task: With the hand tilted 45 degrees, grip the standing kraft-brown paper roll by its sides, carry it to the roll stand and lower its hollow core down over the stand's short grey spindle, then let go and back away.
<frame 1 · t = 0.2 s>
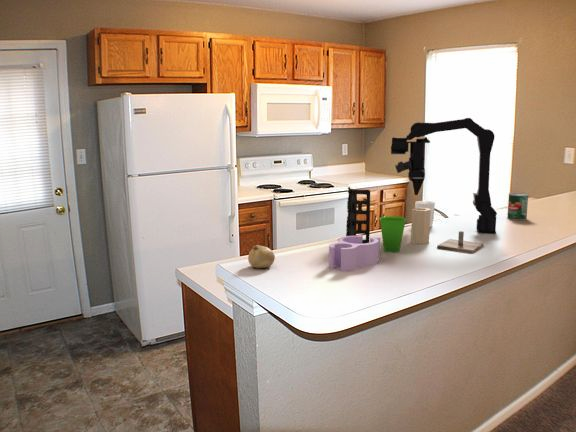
hand: (416, 193, 206), 14 cm above the table, tool pointing down, fingers open, 9 cm apart
canned tomato: (516, 219, 227), on the table
clip: (353, 263, 159), on the table
white cup: (423, 226, 213), on the table
paper roll: (419, 241, 185), on the table
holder: (356, 244, 183), on the table
roll stand: (460, 247, 177), on the table
cup: (391, 251, 173), on the table
onion: (261, 267, 155), on the table
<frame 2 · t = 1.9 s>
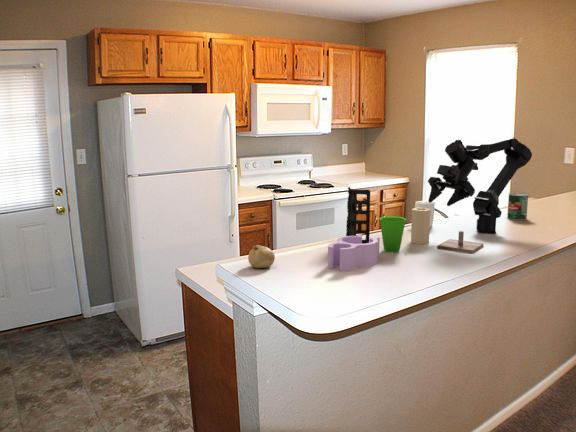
hand: (438, 203, 187), 13 cm above the table, tool tilted 45°, fingers open, 9 cm apart
nothing on the table moved.
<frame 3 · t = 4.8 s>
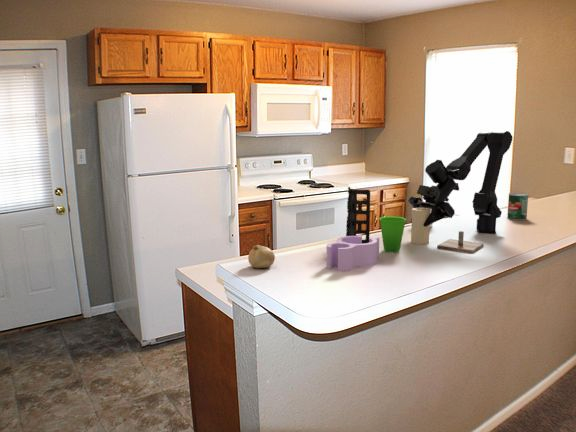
hand: (417, 224, 183), 7 cm above the table, tool tilted 45°, fingers closed on paper roll, 6 cm apart
paper roll: (419, 241, 185), on the table, touching gripper
everything else where it was.
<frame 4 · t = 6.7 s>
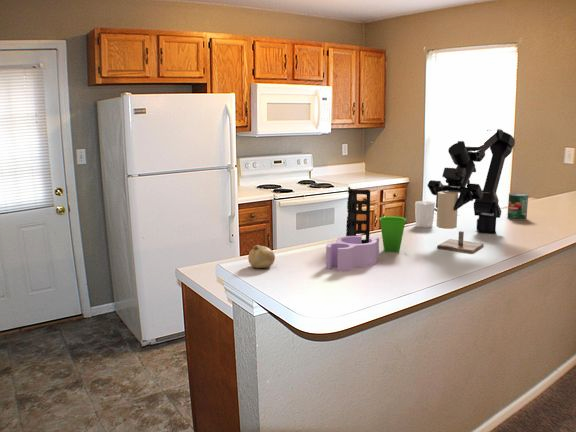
hand: (445, 208, 176), 13 cm above the table, tool tilted 45°, fingers closed on paper roll, 6 cm apart
paper roll: (446, 226, 178), point 7 cm above the table, touching gripper
everything else where it was.
when the fingers open (8 cm above the table, at t = 8.8 s): paper roll stays where it is, resting on roll stand.
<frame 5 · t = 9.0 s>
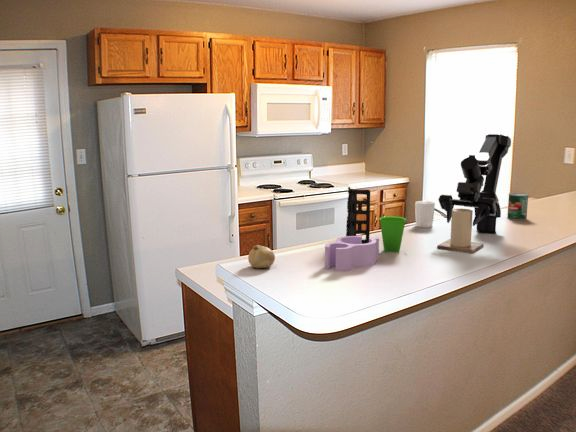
hand: (460, 223, 174), 9 cm above the table, tool tilted 45°, fingers open, 8 cm apart
paper roll: (460, 244, 177), point 1 cm above the table, touching roll stand
everything else where it was.
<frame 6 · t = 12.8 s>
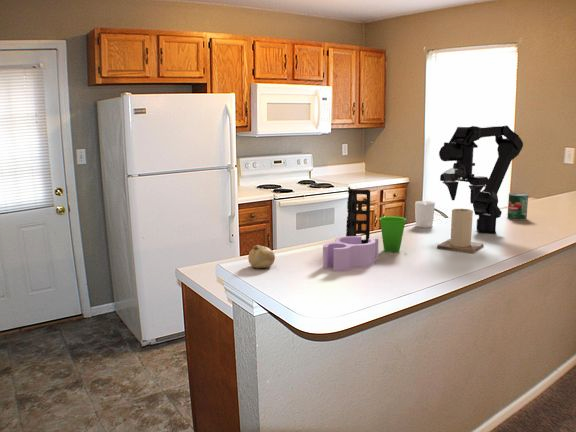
hand: (462, 201, 192), 13 cm above the table, tool pointing down, fingers open, 9 cm apart
at the end: paper roll 0.1 cm off-centre on the roll stand, point 1.0 cm above the roll stand's base; paper roll tilted 0°; the gripper is holding nothing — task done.
